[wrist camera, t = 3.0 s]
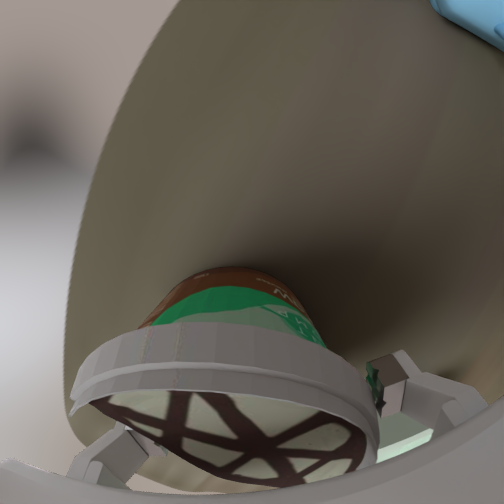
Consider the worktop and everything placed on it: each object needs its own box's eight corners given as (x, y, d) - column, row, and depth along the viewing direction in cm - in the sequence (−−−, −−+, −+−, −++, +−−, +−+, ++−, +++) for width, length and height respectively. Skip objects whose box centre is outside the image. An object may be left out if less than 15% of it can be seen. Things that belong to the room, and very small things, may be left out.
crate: (422, 379, 19) (449, 418, 14) (396, 467, 24) (408, 496, 19) (295, 418, 19) (304, 469, 14) (310, 492, 24) (316, 524, 19)
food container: (366, 324, 17) (443, 442, 7) (301, 384, 18) (329, 511, 8) (207, 196, 14) (134, 253, 5) (144, 282, 16) (54, 405, 6)
